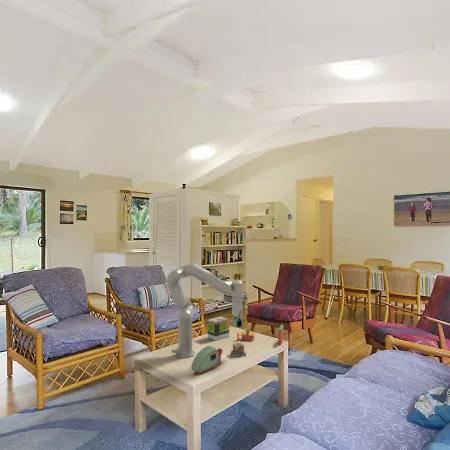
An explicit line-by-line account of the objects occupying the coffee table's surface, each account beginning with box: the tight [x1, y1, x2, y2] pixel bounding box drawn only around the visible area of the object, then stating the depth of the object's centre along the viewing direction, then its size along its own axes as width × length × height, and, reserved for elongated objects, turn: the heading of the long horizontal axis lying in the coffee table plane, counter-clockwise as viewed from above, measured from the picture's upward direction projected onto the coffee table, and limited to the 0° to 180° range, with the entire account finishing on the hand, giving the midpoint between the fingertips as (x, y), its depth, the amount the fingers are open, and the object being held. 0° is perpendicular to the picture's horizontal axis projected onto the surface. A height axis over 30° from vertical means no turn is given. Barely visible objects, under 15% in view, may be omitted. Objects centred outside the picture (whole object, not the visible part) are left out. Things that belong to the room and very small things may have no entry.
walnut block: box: [232, 342, 245, 354], centre depth 234 cm, size 6×6×5 cm
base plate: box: [230, 349, 247, 358], centre depth 234 cm, size 8×8×2 cm
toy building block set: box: [236, 324, 284, 346], centre depth 262 cm, size 12×35×14 cm, turn 71°
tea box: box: [206, 316, 230, 341], centre depth 272 cm, size 15×10×15 cm, turn 130°
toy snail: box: [190, 345, 223, 375], centre depth 211 cm, size 25×8×14 cm, turn 138°
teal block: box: [232, 317, 244, 329], centre depth 234 cm, size 5×5×5 cm
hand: (237, 325), depth 234 cm, fingers closed on teal block, 5 cm apart
